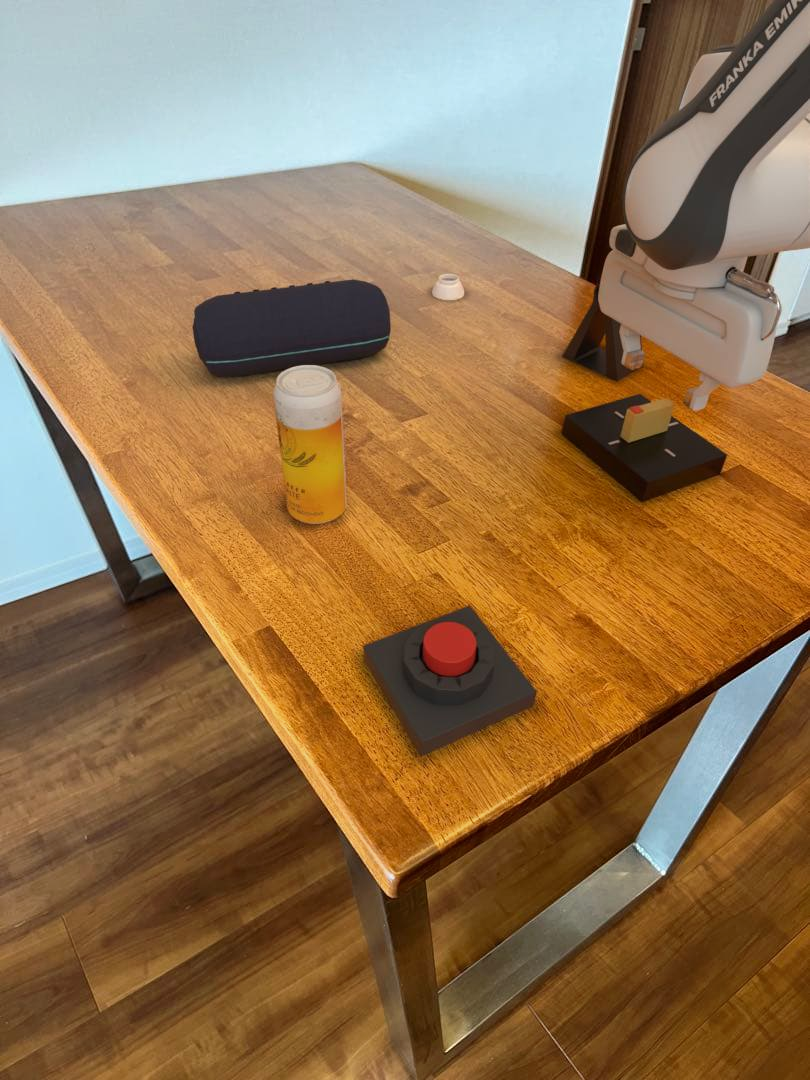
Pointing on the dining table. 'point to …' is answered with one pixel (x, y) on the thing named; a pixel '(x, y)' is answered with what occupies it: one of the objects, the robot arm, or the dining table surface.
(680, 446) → the plate
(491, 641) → the button base
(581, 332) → the phone stand
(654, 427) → the thumb turn
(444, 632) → the button
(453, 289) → the lidless jar
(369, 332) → the portable speaker
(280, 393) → the beer can
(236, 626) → the dining table surface
